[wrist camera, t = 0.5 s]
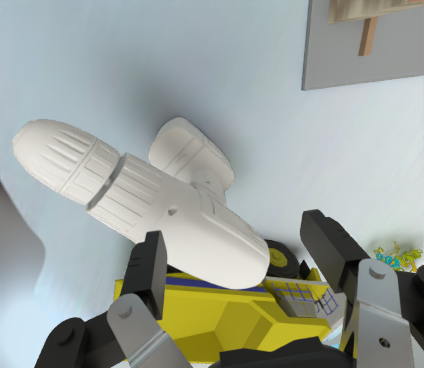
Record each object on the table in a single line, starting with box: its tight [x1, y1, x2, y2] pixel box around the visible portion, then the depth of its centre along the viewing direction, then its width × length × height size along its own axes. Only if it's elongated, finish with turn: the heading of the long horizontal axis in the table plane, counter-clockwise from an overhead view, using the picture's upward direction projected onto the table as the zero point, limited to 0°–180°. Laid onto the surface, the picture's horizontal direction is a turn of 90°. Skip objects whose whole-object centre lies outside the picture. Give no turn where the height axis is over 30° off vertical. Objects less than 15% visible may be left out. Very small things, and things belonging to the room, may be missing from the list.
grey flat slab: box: [315, 287, 347, 339], centre depth 62 cm, size 20×2×8 cm, turn 154°
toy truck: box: [113, 240, 339, 364], centre depth 46 cm, size 24×40×20 cm, turn 75°
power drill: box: [12, 117, 270, 289], centre depth 28 cm, size 8×24×25 cm, turn 45°
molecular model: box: [374, 241, 424, 272], centre depth 50 cm, size 23×21×15 cm
